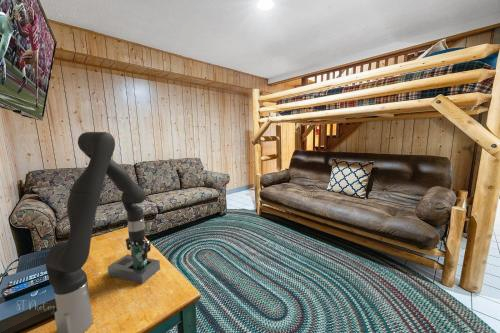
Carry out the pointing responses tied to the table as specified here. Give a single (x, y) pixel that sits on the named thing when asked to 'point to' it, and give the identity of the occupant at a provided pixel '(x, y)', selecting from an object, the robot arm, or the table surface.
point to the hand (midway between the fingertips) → (139, 258)
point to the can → (138, 257)
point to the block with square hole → (126, 270)
